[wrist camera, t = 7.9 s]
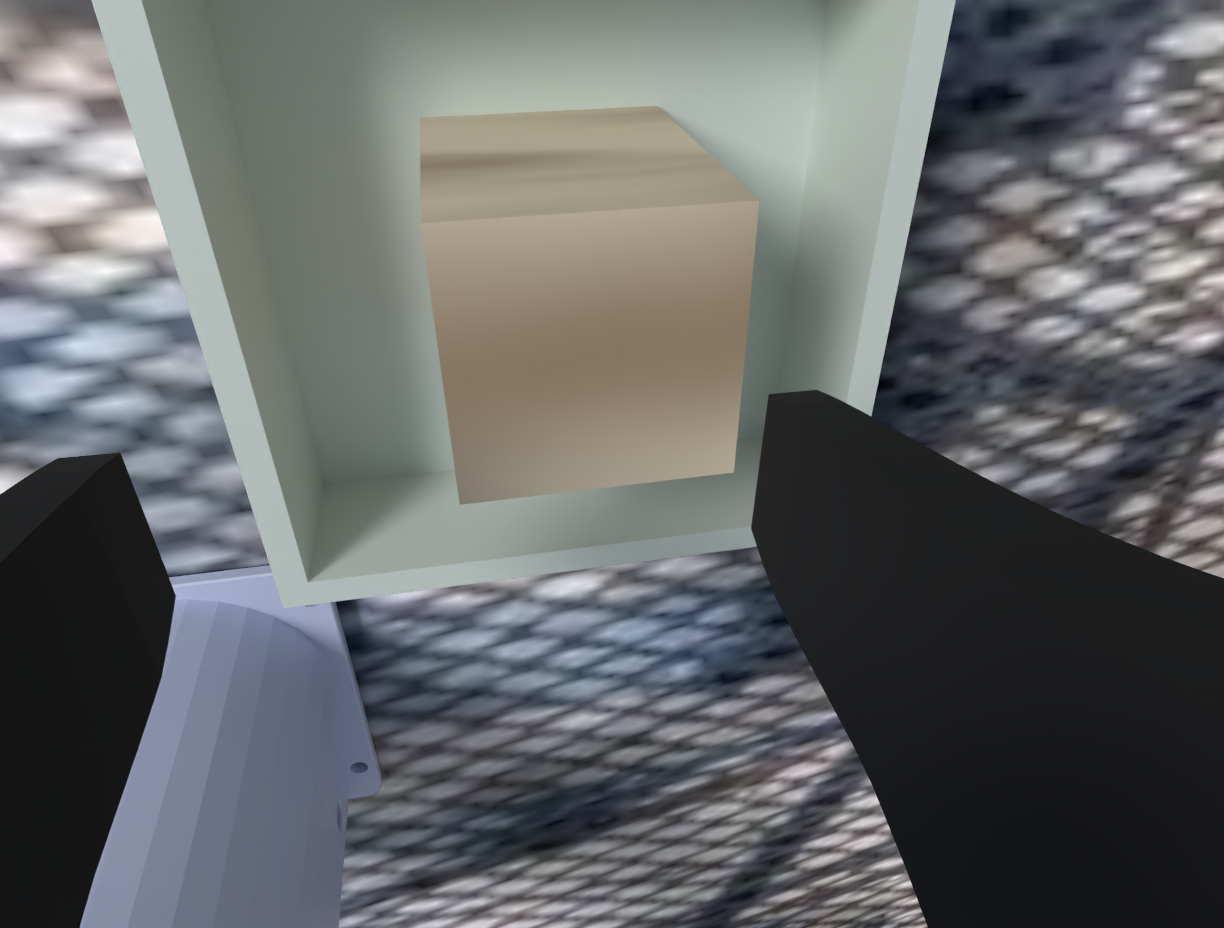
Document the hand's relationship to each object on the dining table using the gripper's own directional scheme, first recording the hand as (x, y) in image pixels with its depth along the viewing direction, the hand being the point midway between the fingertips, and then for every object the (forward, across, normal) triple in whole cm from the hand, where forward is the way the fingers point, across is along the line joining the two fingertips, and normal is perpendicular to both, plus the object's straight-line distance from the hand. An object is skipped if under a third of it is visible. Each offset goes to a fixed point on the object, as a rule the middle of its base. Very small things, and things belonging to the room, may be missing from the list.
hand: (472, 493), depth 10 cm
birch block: (+9, -2, 0) cm, 9 cm away
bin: (+9, -2, 0) cm, 10 cm away
